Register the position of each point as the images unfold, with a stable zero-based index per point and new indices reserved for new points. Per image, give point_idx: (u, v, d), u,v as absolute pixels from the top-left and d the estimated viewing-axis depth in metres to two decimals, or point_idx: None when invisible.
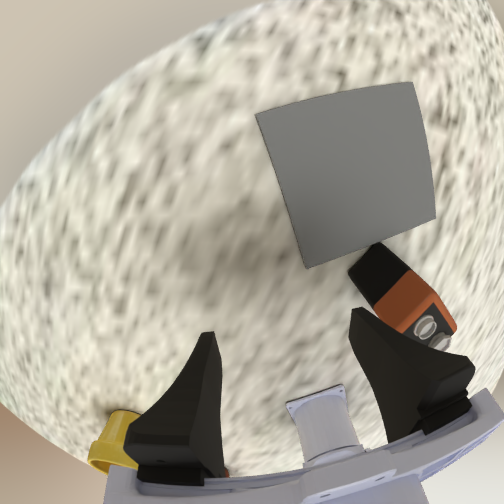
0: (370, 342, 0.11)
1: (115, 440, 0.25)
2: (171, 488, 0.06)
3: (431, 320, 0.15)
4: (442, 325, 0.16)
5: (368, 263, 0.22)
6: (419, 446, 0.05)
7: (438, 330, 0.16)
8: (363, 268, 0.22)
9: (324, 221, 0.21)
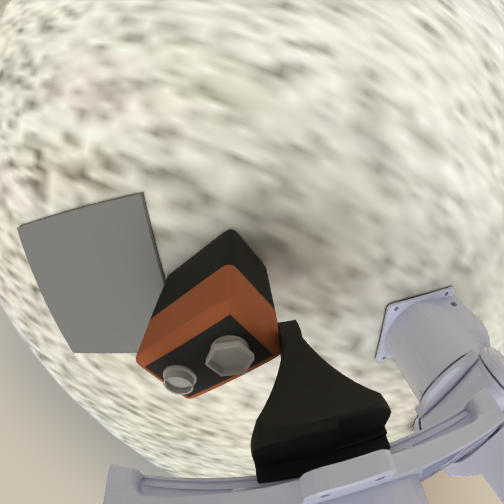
0: None
1: None
2: None
3: (164, 379, 0.12)
4: (194, 346, 0.12)
5: None
6: (419, 446, 0.05)
7: (204, 350, 0.12)
8: None
9: (140, 332, 0.22)
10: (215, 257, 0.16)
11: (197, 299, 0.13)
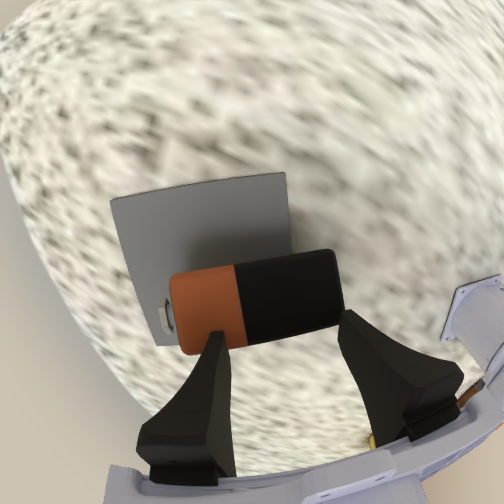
0: (357, 345, 0.11)
1: None
2: (184, 489, 0.06)
3: None
4: None
5: None
6: (419, 446, 0.05)
7: None
8: None
9: None
10: None
11: None
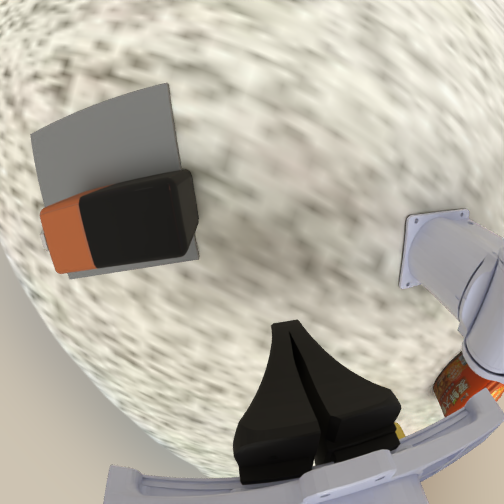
0: (297, 359, 0.11)
1: None
2: (277, 485, 0.06)
3: None
4: None
5: None
6: (419, 446, 0.05)
7: None
8: None
9: None
10: (114, 187, 0.13)
11: (73, 197, 0.14)
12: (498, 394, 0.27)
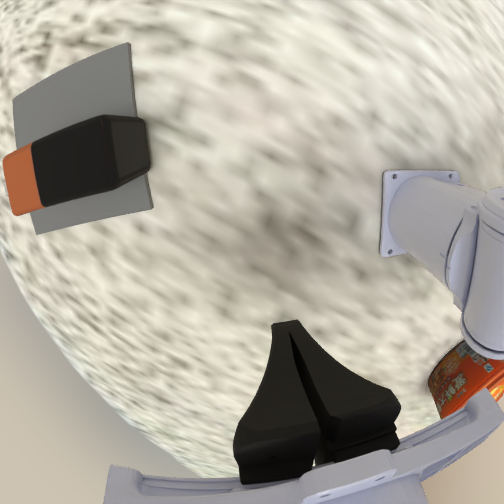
0: (297, 359, 0.11)
1: None
2: (277, 485, 0.06)
3: None
4: None
5: None
6: (419, 446, 0.05)
7: None
8: None
9: None
10: None
11: None
12: (499, 392, 0.24)
